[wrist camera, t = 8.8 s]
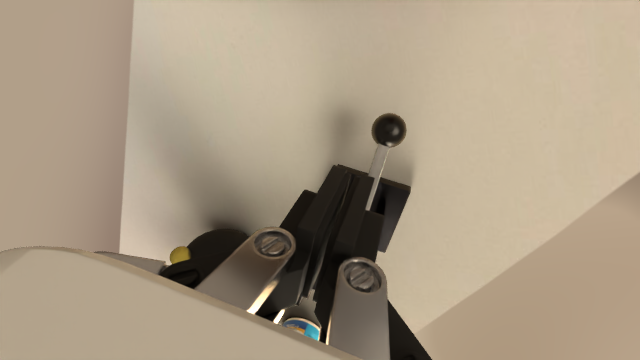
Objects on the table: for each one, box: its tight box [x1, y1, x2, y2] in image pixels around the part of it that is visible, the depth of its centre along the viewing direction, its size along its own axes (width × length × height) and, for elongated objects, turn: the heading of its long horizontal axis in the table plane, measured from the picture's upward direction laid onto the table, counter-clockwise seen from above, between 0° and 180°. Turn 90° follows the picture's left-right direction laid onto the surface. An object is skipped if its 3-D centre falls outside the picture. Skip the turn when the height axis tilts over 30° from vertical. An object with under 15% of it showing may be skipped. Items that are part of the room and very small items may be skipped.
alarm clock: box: [170, 229, 249, 264], centre depth 44 cm, size 12×15×15 cm
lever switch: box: [312, 164, 411, 290], centre depth 33 cm, size 10×9×13 cm
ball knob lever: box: [366, 113, 407, 210], centre depth 29 cm, size 17×3×3 cm, turn 169°
